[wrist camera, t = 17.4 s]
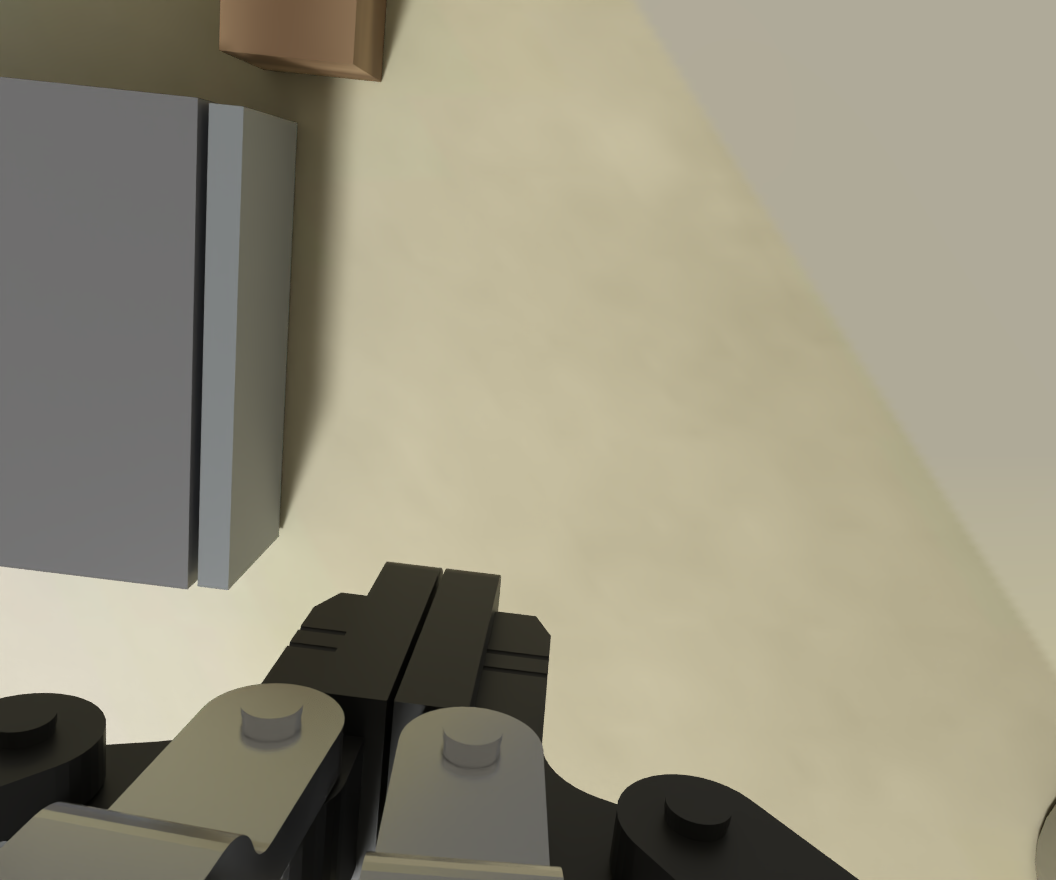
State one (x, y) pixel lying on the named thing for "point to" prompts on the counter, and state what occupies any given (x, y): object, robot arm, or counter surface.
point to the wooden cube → (306, 36)
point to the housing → (101, 330)
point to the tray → (244, 337)
